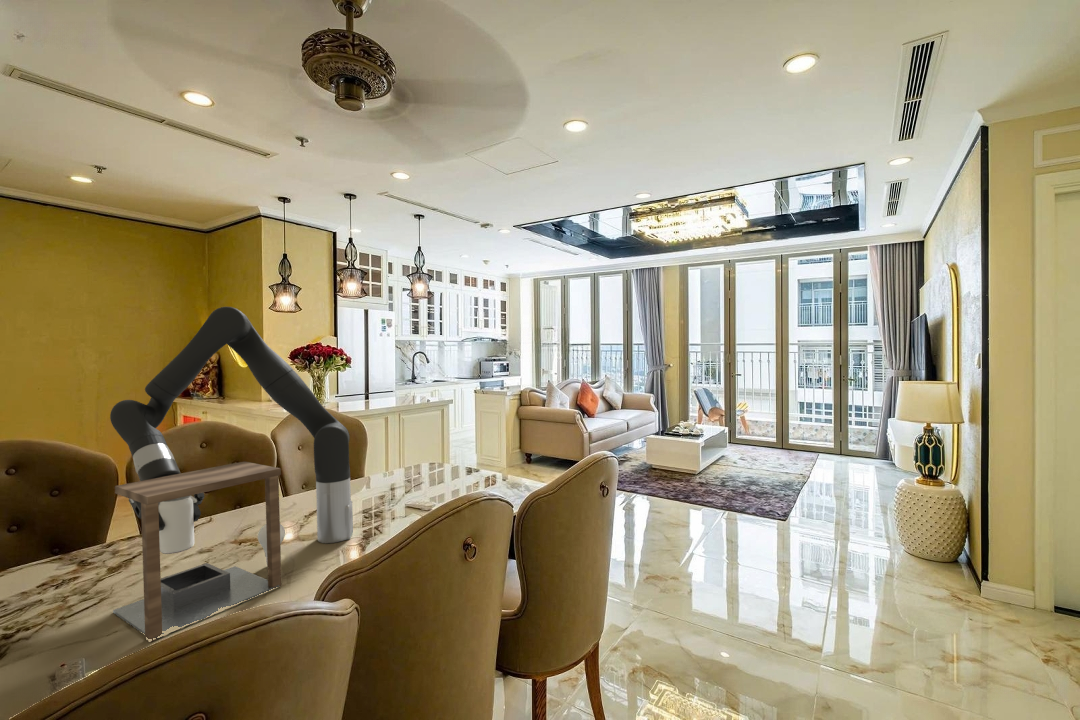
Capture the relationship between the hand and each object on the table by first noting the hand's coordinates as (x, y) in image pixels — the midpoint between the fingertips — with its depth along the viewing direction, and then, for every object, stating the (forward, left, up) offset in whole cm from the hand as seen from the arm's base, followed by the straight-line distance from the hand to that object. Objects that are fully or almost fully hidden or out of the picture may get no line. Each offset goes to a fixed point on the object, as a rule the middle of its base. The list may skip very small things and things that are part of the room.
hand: (179, 523), depth 111 cm
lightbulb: (-17, -8, -15) cm, 24 cm away
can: (+1, -1, -6) cm, 7 cm away
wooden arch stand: (-9, +9, -15) cm, 19 cm away
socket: (-6, +7, -15) cm, 18 cm away
